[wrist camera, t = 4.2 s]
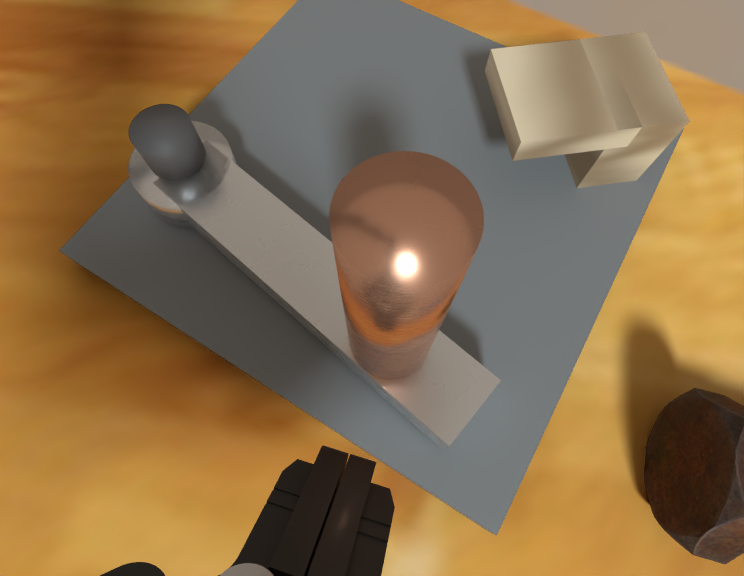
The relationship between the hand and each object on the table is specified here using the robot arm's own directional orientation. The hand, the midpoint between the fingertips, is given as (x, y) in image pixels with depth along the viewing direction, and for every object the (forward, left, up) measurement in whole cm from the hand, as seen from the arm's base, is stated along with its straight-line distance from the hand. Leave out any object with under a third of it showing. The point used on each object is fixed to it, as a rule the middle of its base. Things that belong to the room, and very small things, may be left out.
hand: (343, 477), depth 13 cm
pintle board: (+5, +12, -7) cm, 15 cm away
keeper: (+14, +12, -6) cm, 19 cm away
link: (0, +8, -5) cm, 10 cm away
